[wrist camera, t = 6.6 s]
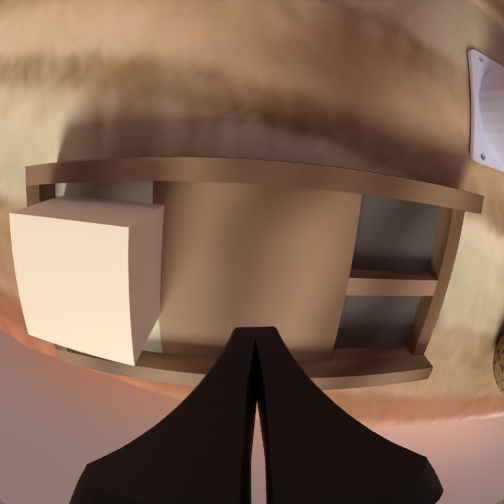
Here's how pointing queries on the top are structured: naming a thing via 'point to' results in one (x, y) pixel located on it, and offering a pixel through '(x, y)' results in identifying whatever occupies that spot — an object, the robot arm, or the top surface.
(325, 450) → the robot arm
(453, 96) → the top surface
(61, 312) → the ivory block
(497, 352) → the decorative egg
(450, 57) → the top surface
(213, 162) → the box
